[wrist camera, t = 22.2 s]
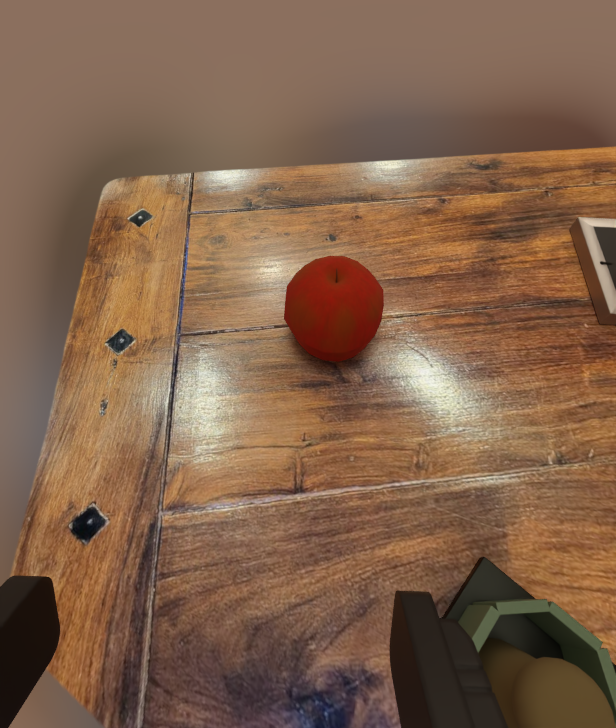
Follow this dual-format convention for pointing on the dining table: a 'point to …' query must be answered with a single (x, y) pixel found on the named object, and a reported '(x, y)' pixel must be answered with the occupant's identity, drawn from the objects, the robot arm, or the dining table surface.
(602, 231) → the face-down photo frame
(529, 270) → the dining table surface
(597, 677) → the cup holder
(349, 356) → the apple
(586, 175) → the dining table surface
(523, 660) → the cork
